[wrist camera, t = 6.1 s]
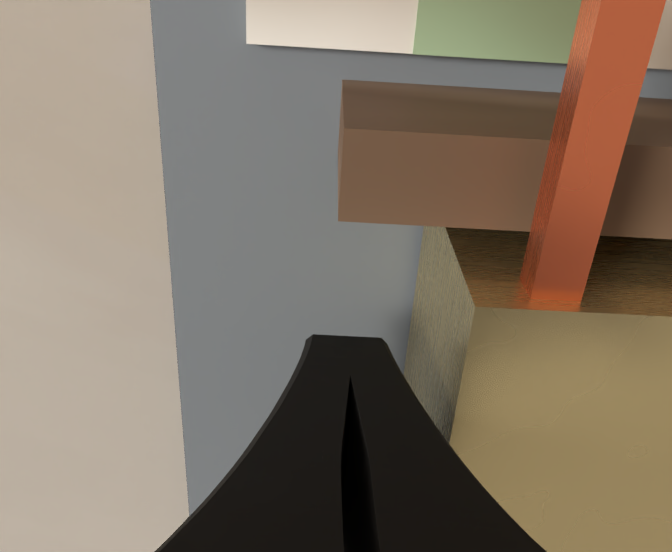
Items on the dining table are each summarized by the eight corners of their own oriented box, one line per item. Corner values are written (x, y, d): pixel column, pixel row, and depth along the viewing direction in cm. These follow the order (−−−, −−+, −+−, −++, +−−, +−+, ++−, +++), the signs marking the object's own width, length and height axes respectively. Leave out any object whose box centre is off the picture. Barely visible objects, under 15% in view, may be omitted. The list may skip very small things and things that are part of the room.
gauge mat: (697, 572, 17) (713, 600, 16) (200, 552, 17) (194, 580, 16) (1049, -121, 9) (1105, -126, 9) (150, -184, 9) (135, -195, 8)
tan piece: (576, 457, 14) (662, 640, 10) (393, 449, 13) (413, 631, 10) (752, -85, 9) (1036, -103, 5) (467, -104, 9) (559, -136, 5)
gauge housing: (741, 507, 15) (888, 711, 11) (252, 486, 14) (221, 688, 10) (1034, -56, 9) (1548, -54, 5) (247, -108, 9) (177, -149, 5)
